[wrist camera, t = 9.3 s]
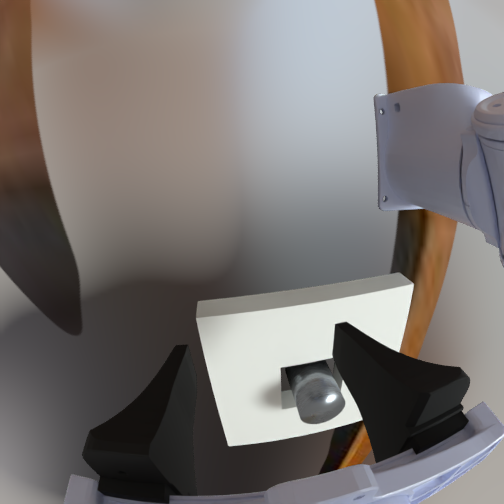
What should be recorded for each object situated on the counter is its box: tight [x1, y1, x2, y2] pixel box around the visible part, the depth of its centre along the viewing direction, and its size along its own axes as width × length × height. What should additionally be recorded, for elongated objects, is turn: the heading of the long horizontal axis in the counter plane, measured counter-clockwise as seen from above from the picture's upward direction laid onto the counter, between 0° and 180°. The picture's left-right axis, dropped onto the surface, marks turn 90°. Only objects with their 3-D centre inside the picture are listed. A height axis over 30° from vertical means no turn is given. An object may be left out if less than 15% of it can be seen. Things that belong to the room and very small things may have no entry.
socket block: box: [196, 273, 414, 446], centre depth 25 cm, size 18×18×2 cm
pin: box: [285, 360, 345, 424], centre depth 23 cm, size 4×4×6 cm
